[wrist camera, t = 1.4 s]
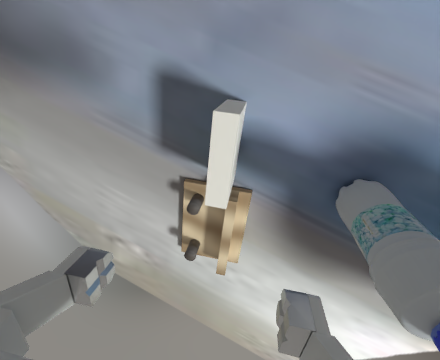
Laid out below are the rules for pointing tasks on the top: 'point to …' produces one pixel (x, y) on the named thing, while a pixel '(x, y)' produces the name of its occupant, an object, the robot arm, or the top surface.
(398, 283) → the bottle
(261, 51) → the top surface
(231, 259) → the tan pegged board
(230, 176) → the white rectangular block
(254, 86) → the top surface
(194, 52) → the top surface
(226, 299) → the top surface
